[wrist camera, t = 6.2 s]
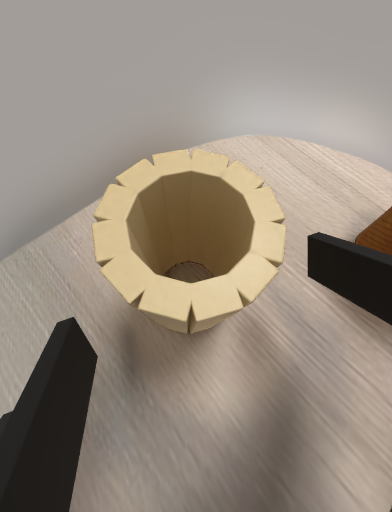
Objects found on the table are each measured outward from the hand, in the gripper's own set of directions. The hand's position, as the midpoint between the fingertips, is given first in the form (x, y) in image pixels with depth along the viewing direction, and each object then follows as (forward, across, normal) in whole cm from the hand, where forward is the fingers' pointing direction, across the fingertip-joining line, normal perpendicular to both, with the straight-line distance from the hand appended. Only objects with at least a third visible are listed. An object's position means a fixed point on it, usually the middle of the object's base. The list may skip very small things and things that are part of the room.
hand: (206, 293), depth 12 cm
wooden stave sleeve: (+8, 0, -4) cm, 9 cm away
